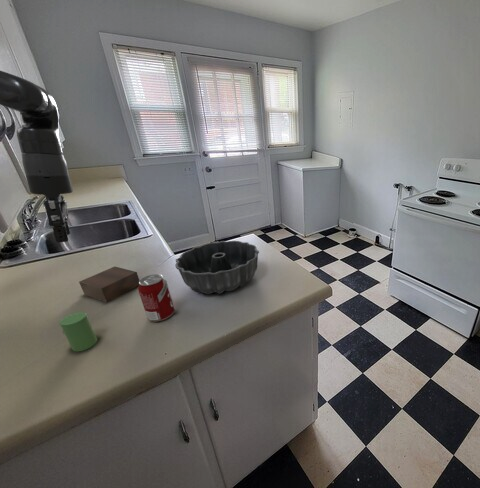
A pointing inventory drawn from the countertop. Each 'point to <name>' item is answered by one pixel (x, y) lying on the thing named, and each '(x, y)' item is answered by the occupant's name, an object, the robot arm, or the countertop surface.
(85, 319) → the green cylinder
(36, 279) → the countertop surface
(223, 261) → the bundt pan
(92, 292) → the walnut block
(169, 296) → the soda can
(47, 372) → the countertop surface
